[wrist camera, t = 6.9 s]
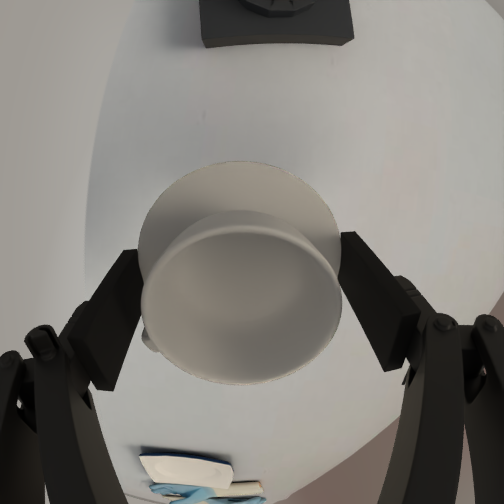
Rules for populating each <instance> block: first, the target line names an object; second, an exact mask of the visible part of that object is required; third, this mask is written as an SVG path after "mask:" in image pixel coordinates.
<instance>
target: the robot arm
mask: <svg viewBox="0 0 504 504" xmlns="http://www.w3.org/2000/svg"><path fill="white" fill-rule="evenodd" d="M340 240H341V263H340V268H339V272H338V277H337V279H338V282H339V284H340V286H341V288H342V290H343V292H344V294H345V295H346V297H347V299H348V301H349V303H350V305H351V307H352V309H353V311H354V312H355V314H356V316H357V318H358V320H359V322H360V324H361V326H362V328H363V330H364V332H365V334H366V336H367V338H368V340H369V342H370V344H371V346H372V348H373V350H374V352H375V354H376V356H377V358H378V360H379V362H380V364H381V367H382V369H383V371H384V372H387V371H391V370H395V369H399V368H402V366H403V363H404V360H405V358H407V360H408V362H409V363H410V366H409V368H408V371H407V373H406V375H405V378H404V380H403V382H402V385H404V384H405V382H406V384H405V391H404V397H403V403H402V409H401V415H400V420H399V425H398V430H397V434H396V439H395V443H394V447H393V452H392V456H391V460H390V463H389V467H388V471H387V474H386V477H385V481H384V484H383V487H382V491H381V494H380V497H379V500H378V503H377V504H455V500H456V495H457V489H458V482H459V476H460V468H461V460H462V449H463V434H464V433H463V432H464V424H465V429H466V434H467V439H468V445H469V451H470V458H471V464H472V472H473V481H474V492H475V504H504V327H503V325H502V324H501V322H500V321H499V320H497V319H496V318H495V317H494V316H491V315H486V314H483V315H479V316H478V317H477V318H476V320H475V322H474V325H458V323H457V322H456V320H455V319H454V318H452V317H451V316H449V315H446V314H443V313H436V311H435V310H434V309H433V308H432V306H431V305H430V304H429V303H428V302H427V300H426V299H425V298H424V297H423V295H421V293H420V292H419V291H418V290H416V287H415V286H414V285H413V284H412V283H411V281H409V280H408V279H406V278H404V277H403V276H393V275H392V274H391V272H390V271H389V270H388V269H387V268H386V266H385V265H384V264H383V263H382V262H381V261H380V259H379V258H378V257H377V256H376V255H375V254H374V252H373V251H372V250H371V249H370V248H369V247H368V246H367V244H366V243H365V242H364V241H363V240H362V239H361V238H360V236H359V235H358V234H357V233H356V232H355V231H354V232H341V238H340ZM143 286H144V281H143V278H142V274H141V271H140V267H139V261H138V251H137V249H131V250H123V252H122V253H121V254H120V256H119V257H118V259H117V260H116V262H115V263H114V264H113V266H112V267H111V269H110V270H109V272H108V273H107V275H106V276H105V277H104V279H103V280H102V282H101V283H100V285H99V286H98V288H97V289H96V291H95V293H94V294H93V296H92V297H91V299H90V300H89V301H84V302H83V303H82V304H81V305H80V306H78V307H77V308H76V310H75V311H74V313H73V314H72V317H71V318H70V319H69V321H68V323H67V324H66V325H65V327H64V329H63V330H62V332H61V333H60V335H59V337H57V335H56V333H55V331H54V329H53V328H52V326H50V325H41V326H38V327H36V328H34V329H32V330H31V331H30V332H29V333H28V334H27V335H26V337H25V340H24V342H25V343H26V345H27V347H28V349H29V350H30V352H31V354H32V355H33V357H34V358H29V359H24V360H23V359H22V357H21V356H20V354H19V353H18V352H17V351H13V350H12V351H8V352H5V353H4V354H3V355H2V356H1V357H0V504H45V485H46V489H47V494H48V498H49V502H50V504H128V502H127V499H126V497H125V495H124V493H123V490H122V488H121V485H120V483H119V480H118V478H117V475H116V473H115V470H114V467H113V465H112V462H111V459H110V456H109V453H108V450H107V447H106V444H105V441H104V438H103V435H102V431H101V428H100V424H99V421H98V417H97V413H96V410H95V406H94V402H93V398H92V394H91V392H90V390H89V389H88V386H89V384H90V381H92V383H93V384H94V386H95V388H96V389H97V390H103V391H114V388H115V385H116V382H117V379H118V376H119V373H120V371H121V368H122V365H123V362H124V359H125V356H126V354H127V351H128V348H129V345H130V343H131V340H132V337H133V335H134V332H135V329H136V327H137V324H138V322H139V319H140V316H141V296H142V290H143ZM484 367H485V369H486V374H485V373H484V370H483V369H484ZM17 400H19V401H20V402H21V403H22V404H21V408H18V406H17Z"/></svg>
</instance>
